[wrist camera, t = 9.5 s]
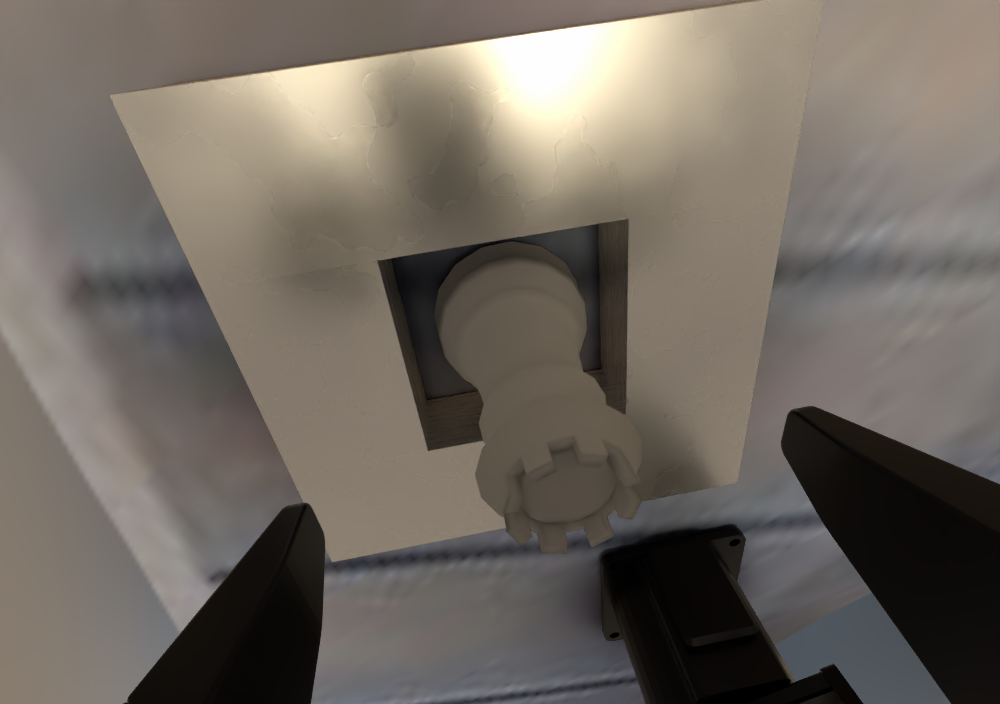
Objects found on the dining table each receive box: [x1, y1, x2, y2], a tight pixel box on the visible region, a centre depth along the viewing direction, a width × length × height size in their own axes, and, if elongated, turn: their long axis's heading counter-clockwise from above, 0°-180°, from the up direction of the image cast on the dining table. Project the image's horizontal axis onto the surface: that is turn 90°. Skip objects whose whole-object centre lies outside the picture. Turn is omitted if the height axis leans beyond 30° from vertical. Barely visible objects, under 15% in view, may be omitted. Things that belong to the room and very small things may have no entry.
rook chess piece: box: [434, 241, 642, 554], centre depth 12 cm, size 4×4×8 cm
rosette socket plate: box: [109, 0, 824, 562], centre depth 15 cm, size 14×14×2 cm
